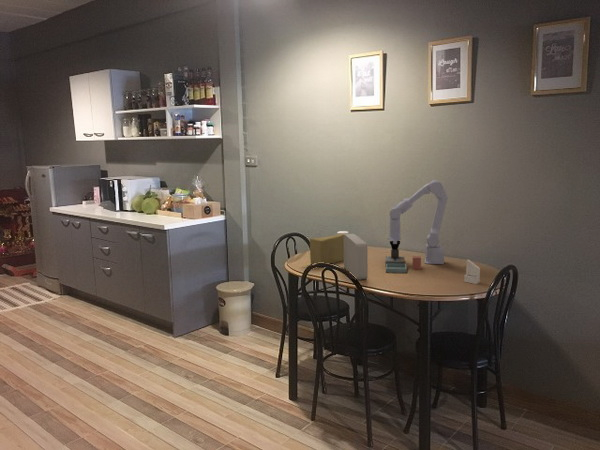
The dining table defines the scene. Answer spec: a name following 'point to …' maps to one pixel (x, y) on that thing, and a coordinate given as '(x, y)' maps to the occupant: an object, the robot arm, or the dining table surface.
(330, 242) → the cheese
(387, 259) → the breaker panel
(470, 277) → the white wedge bracket
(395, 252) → the switch
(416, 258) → the block
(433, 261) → the robot arm
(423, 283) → the dining table surface
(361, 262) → the tall light grey box
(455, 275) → the dining table surface
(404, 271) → the tray
